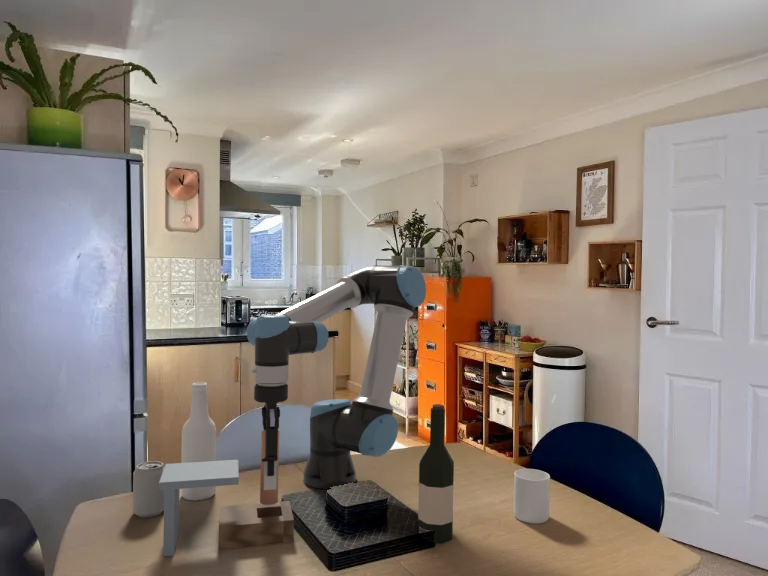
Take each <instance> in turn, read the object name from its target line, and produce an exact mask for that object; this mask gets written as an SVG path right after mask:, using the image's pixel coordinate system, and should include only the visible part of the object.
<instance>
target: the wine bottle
mask: <svg viewBox="0 0 768 576" xmlns="http://www.w3.org/2000/svg"><path fill="white" fill-rule="evenodd" d="M445 416H446V408H444V405H443V404H441V403H440V404H438V403H436V404H432V407H430V423H429V424H430V425H429V426H430V428H429V429H430V430H429V431H430V433H429V436H430V437H429V446H428V447H427V448H426V450H425V452H424V454H423V456H422V457H421V459H420V461H419V464H418V465H419V466H418V510H417V511H418V513H417V514H418V515H417V516H418V518H417V527H418V526H420V527H421V528H423V529H426V530H433V531H435V533H434V543H433V544H444V543H447V542H450V541H452V540H453V529H454V528H453V527H454V525H453V519H454V518H453V517H454V485H455V484H454V480H455V479H454V477H455V476H454V471H455V461H454V460H453V458H452V456H451V455H450V453H449V451H448V449H447V447H446V445H445V428H446V427H445V425H446V422H445V421H446V417H445Z"/></svg>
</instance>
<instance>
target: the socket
mask: <svg viewBox="0 0 768 576" xmlns="http://www.w3.org/2000/svg"><path fill="white" fill-rule="evenodd" d="M294 520H295V519H294V514H293V510H292V507H291V502H290V501H289V500H282V501H278V502H277V503H275V504H272V505H264V504H261V503H260V502H258V503H257V502H256V503H248V504H245V503H244V504H235V505H234V504H233V505H224V506H223V505H222V506H219V518H218V545H217V546H218V547H217V548H218V549H217V551H221V550H229V549H230V550H231V549H240V548H251V547H252V548H253V547H262V546H271V545H281V544H290V543H294V539H295V538H294V535H295V528H294V527H295V521H294Z"/></svg>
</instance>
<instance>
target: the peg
mask: <svg viewBox="0 0 768 576" xmlns="http://www.w3.org/2000/svg"><path fill="white" fill-rule="evenodd" d="M260 437H261V438H260V439H261V440H260V441H261V442H260V479H259V480H260V481H259V482H260V483H259V485H260V489H259V503H261V504H264V505H272V504H275V503H277V502H279V461H280V430H279V429H278V447H277V456H278V459H277V475H276V489H272V490H264V462H262V459H265V430H264V429H263V430H261V435H260Z"/></svg>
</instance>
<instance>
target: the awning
mask: <svg viewBox="0 0 768 576" xmlns="http://www.w3.org/2000/svg"><path fill="white" fill-rule="evenodd" d="M164 467H165V468H164V470H163V473H162V476H161V479H160V481H159V490H164V510H163V544H162V545H163V549H162V551H163V555H162V557H173V556H174V554H175V550H176V545H177V541H178V537H179V533H180V492H181V489H183V488H197V487H211V486H216V487H222V486H237V485H239V480H240V479H239V473H240V472H239V459H225V460H216V461H206V462H190V463H181V462H178V463H165V464H164Z"/></svg>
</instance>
